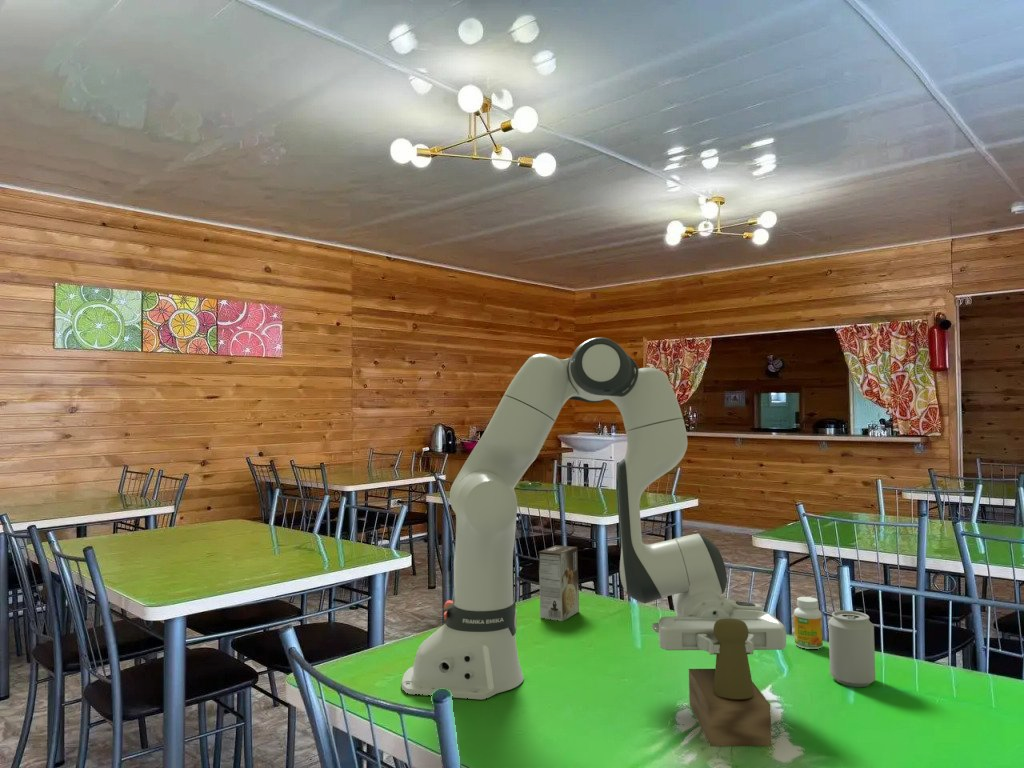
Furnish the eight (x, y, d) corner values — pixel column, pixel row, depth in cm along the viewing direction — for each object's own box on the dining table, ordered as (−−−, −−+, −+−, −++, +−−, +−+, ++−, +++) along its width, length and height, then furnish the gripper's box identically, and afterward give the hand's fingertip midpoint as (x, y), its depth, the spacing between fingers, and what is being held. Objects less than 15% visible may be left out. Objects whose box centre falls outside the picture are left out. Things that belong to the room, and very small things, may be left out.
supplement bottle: (794, 649, 150) (793, 601, 151) (795, 641, 155) (793, 594, 156) (823, 651, 148) (821, 603, 149) (822, 643, 153) (821, 596, 154)
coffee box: (556, 608, 183) (555, 544, 184) (579, 612, 180) (578, 546, 181) (539, 618, 176) (537, 551, 176) (563, 622, 172) (561, 553, 173)
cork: (754, 700, 109) (750, 624, 110) (712, 697, 111) (709, 622, 112) (754, 688, 115) (750, 616, 116) (714, 685, 116) (711, 614, 118)
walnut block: (710, 745, 109) (709, 704, 109) (689, 704, 124) (688, 668, 124) (771, 745, 108) (770, 704, 109) (743, 704, 123) (742, 668, 123)
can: (875, 676, 135) (872, 610, 135) (876, 691, 128) (873, 621, 128) (830, 670, 138) (828, 606, 138) (829, 685, 131) (827, 617, 131)
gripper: (649, 604, 127) (663, 629, 113) (769, 603, 126) (797, 628, 112) (650, 641, 127) (664, 670, 113) (770, 640, 126) (798, 669, 112)
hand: (731, 649), depth 113 cm, fingers closed on cork, 4 cm apart
